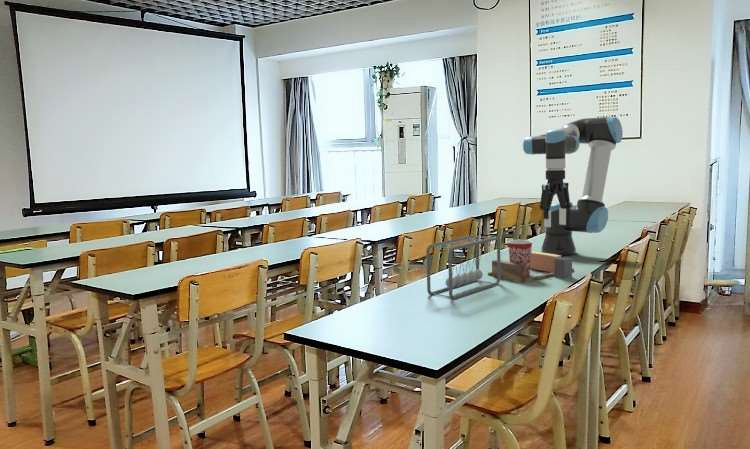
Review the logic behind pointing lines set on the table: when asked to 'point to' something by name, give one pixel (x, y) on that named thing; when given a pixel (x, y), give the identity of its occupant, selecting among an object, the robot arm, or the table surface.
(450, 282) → the newton's cradle
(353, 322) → the table surface
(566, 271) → the lock block
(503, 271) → the clamp bed
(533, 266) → the block
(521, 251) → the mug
